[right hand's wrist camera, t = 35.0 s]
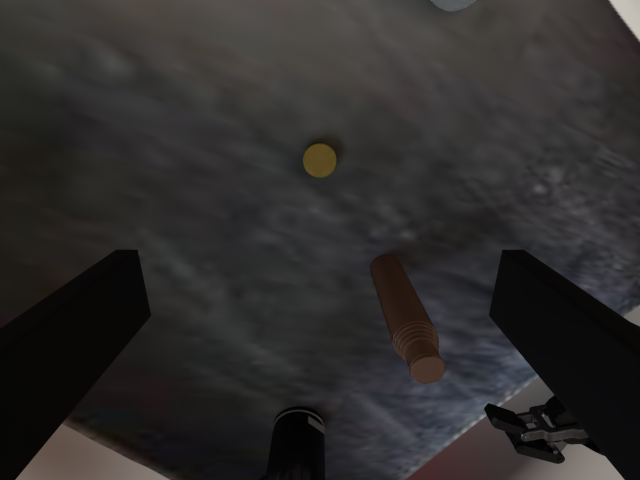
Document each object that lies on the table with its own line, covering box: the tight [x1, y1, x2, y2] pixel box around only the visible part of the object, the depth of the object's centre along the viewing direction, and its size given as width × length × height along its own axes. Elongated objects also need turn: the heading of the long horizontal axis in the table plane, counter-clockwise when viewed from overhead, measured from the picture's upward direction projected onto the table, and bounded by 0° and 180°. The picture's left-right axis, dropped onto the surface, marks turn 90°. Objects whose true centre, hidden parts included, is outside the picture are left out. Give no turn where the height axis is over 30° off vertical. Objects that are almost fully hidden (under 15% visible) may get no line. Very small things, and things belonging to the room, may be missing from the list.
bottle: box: [370, 255, 445, 384], centre depth 41 cm, size 5×5×21 cm
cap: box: [303, 142, 337, 178], centre depth 44 cm, size 4×4×2 cm
